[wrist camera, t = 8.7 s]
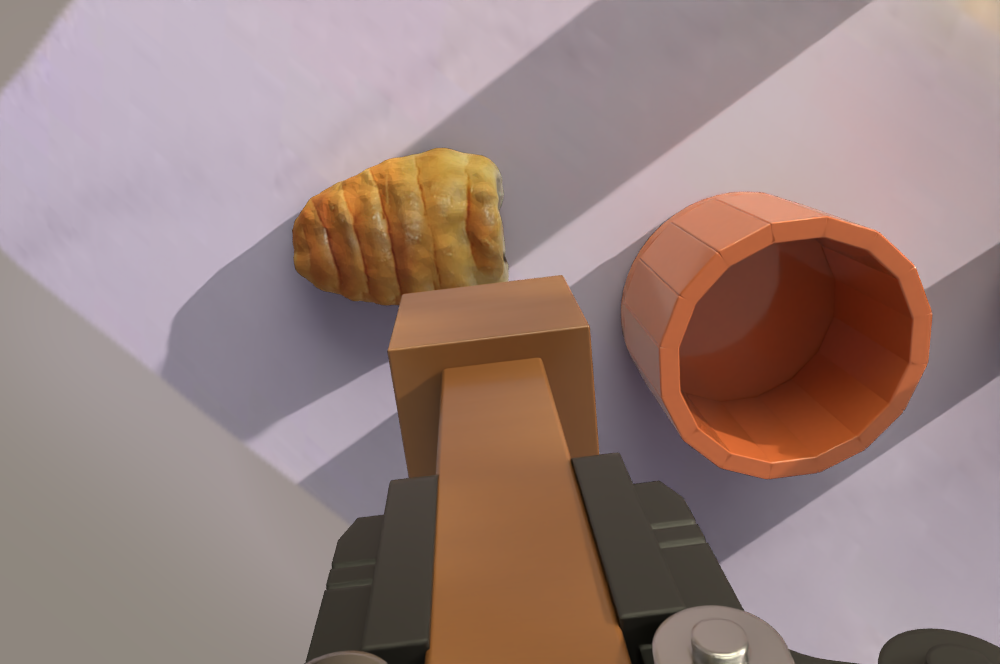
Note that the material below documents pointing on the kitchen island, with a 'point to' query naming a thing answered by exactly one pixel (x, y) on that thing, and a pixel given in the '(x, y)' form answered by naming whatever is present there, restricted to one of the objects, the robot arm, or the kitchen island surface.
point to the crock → (775, 332)
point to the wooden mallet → (505, 471)
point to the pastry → (405, 228)
